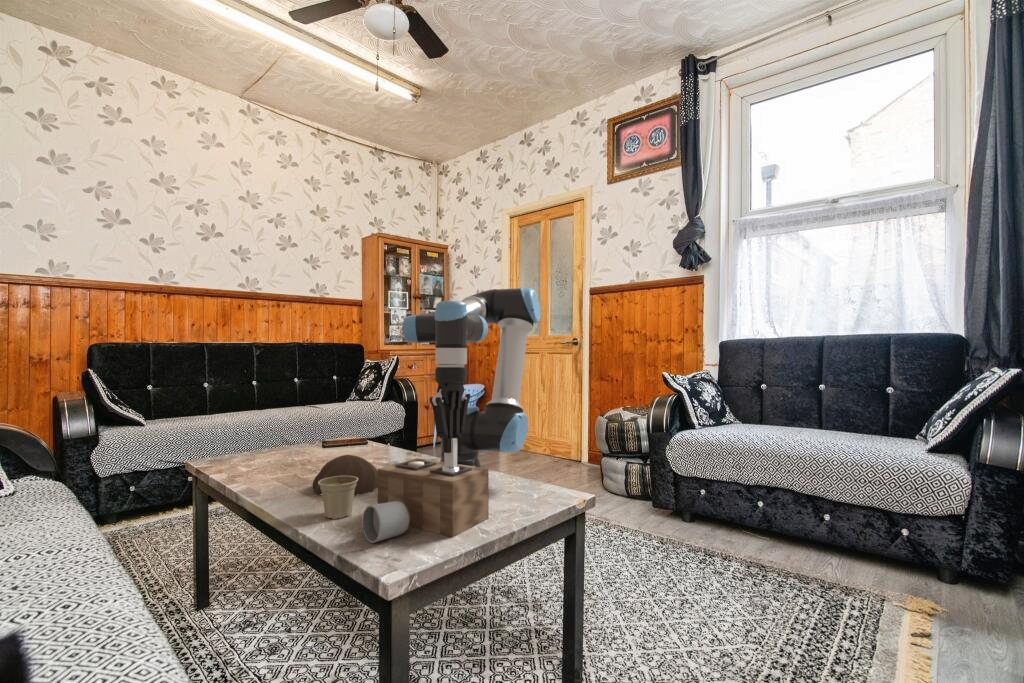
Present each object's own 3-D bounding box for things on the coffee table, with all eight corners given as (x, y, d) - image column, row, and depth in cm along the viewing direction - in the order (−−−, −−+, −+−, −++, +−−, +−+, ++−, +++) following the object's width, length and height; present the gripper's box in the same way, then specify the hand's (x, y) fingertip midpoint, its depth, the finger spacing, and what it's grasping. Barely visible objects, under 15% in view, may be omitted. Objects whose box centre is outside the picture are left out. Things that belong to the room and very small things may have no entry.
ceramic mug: (412, 536, 105) (412, 500, 106) (379, 547, 99) (379, 509, 100) (385, 525, 112) (385, 492, 113) (353, 535, 106) (353, 500, 107)
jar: (447, 509, 123) (447, 462, 123) (438, 501, 130) (438, 456, 131) (480, 505, 127) (480, 459, 127) (469, 496, 134) (469, 453, 134)
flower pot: (315, 512, 121) (315, 478, 121) (353, 506, 126) (353, 473, 126) (321, 524, 113) (321, 487, 113) (362, 517, 118) (362, 481, 118)
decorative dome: (312, 501, 131) (313, 464, 131) (312, 483, 149) (312, 451, 150) (385, 493, 139) (385, 458, 139) (376, 477, 157) (376, 446, 157)
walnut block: (417, 503, 128) (417, 455, 129) (488, 518, 117) (488, 466, 117) (377, 518, 116) (377, 466, 117) (452, 537, 105) (452, 478, 105)
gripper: (455, 365, 122) (455, 459, 121) (420, 366, 111) (420, 469, 110) (479, 365, 118) (479, 462, 118) (446, 366, 107) (445, 473, 106)
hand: (450, 465), depth 114 cm, fingers closed
